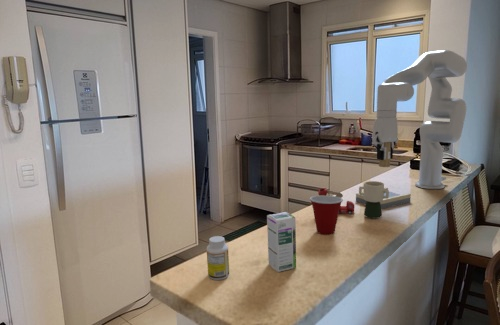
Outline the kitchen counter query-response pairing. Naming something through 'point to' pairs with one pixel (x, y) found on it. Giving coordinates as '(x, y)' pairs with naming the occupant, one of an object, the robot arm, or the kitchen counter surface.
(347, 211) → the toy fire truck
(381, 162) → the sprinkles bottle
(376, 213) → the character mug
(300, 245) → the kitchen counter surface
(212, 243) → the supplement bottle
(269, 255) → the syrup box
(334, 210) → the plastic cup
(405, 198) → the tray
